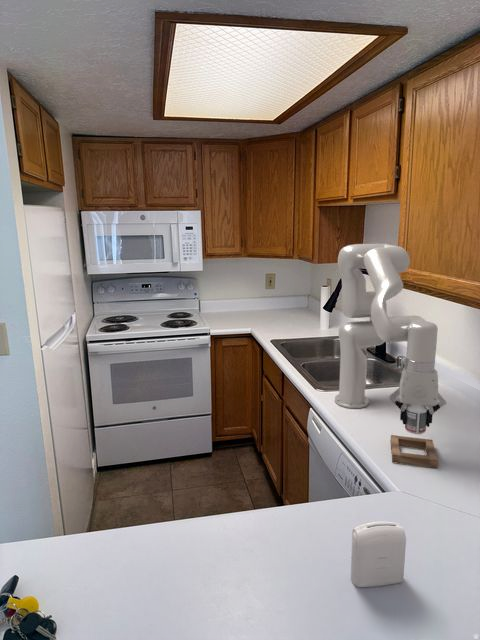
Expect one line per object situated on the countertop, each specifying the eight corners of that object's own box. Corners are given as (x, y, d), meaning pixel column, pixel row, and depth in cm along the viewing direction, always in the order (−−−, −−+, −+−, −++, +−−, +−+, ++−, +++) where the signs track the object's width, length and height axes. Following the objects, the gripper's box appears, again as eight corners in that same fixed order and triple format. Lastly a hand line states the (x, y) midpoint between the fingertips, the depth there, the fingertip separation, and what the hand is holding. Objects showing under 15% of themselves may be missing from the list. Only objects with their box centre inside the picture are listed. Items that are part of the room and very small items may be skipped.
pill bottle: (422, 426, 128) (424, 395, 126) (428, 435, 123) (431, 403, 120) (402, 425, 129) (404, 394, 126) (407, 434, 123) (410, 402, 121)
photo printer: (354, 590, 82) (357, 534, 79) (347, 572, 86) (349, 519, 83) (406, 585, 83) (411, 530, 80) (396, 567, 87) (400, 514, 84)
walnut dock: (390, 442, 135) (390, 434, 134) (431, 447, 132) (432, 439, 131) (392, 462, 124) (392, 454, 123) (437, 468, 120) (438, 460, 120)
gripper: (388, 366, 120) (384, 426, 124) (455, 371, 115) (450, 433, 119) (387, 358, 127) (384, 415, 131) (451, 363, 122) (445, 421, 126)
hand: (415, 423), depth 125 cm, fingers closed on pill bottle, 5 cm apart
